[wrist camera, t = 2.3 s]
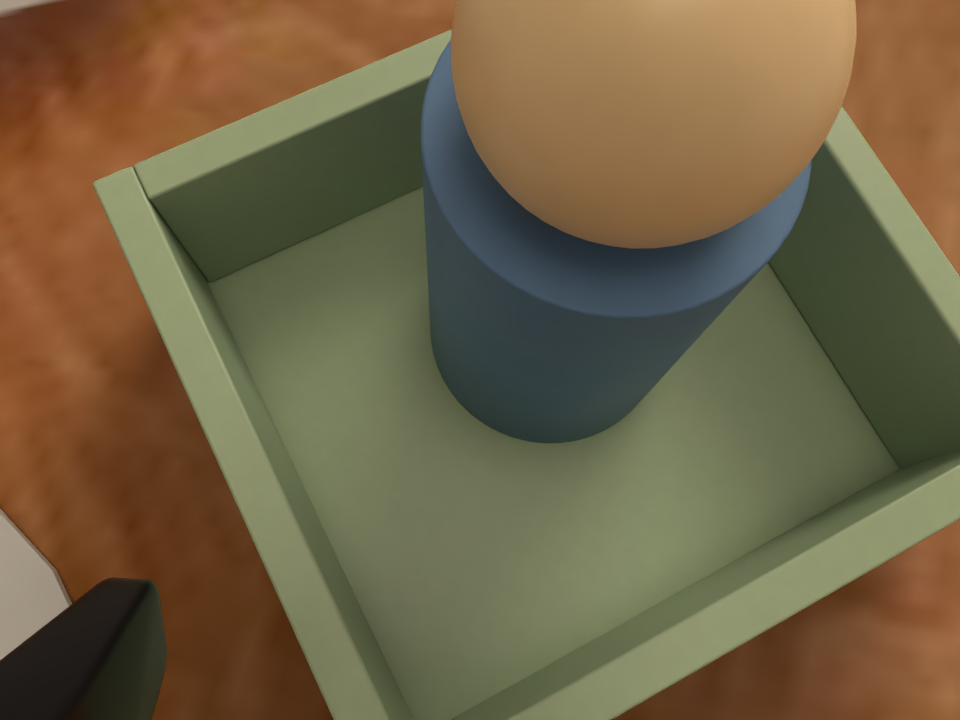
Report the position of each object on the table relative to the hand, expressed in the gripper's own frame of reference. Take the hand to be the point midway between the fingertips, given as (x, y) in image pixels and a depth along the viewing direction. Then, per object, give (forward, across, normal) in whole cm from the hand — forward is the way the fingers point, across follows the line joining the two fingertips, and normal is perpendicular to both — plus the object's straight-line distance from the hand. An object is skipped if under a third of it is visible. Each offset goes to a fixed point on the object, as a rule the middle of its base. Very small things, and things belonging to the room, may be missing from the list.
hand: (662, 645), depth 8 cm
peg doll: (+13, 0, +4) cm, 13 cm away
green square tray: (+13, 0, +5) cm, 14 cm away
